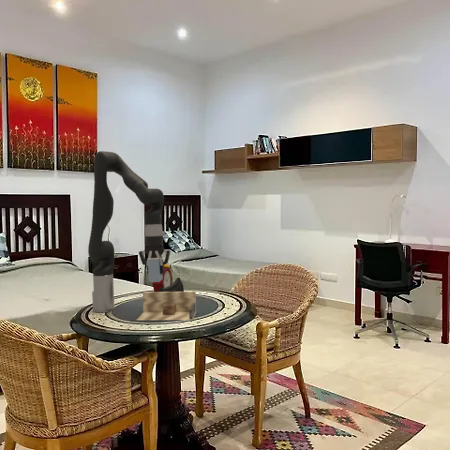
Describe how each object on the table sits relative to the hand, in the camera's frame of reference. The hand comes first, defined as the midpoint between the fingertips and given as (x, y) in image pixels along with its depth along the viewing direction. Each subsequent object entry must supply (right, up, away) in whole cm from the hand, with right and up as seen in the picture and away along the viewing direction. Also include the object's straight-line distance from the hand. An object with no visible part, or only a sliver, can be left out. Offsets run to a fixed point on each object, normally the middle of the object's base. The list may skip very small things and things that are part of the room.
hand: (155, 274), depth 193 cm
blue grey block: (0, -3, 0) cm, 3 cm away
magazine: (+3, -19, +32) cm, 37 cm away
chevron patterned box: (+4, -20, +4) cm, 21 cm away
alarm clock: (-6, -18, +55) cm, 58 cm away
